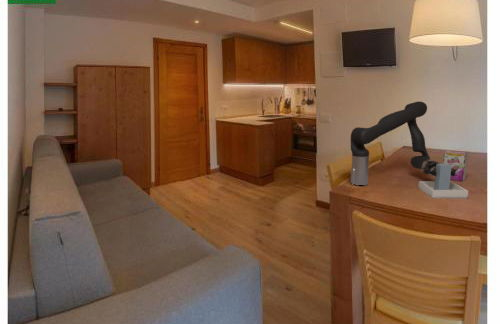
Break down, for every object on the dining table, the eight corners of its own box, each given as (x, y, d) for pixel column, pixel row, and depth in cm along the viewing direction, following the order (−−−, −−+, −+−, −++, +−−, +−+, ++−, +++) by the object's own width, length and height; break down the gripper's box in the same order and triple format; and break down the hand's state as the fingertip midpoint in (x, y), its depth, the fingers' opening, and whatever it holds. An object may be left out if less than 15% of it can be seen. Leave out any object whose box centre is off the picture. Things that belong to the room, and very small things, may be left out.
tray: (432, 198, 154) (432, 190, 153) (418, 188, 172) (419, 181, 171) (467, 198, 152) (468, 190, 151) (450, 188, 169) (450, 181, 168)
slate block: (438, 192, 159) (440, 165, 157) (434, 189, 164) (436, 163, 161) (448, 192, 159) (451, 165, 156) (444, 189, 163) (446, 163, 161)
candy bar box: (441, 178, 188) (443, 152, 185) (444, 177, 192) (446, 150, 188) (462, 181, 180) (465, 154, 177) (465, 180, 183) (468, 152, 180)
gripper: (418, 160, 174) (430, 167, 158) (446, 160, 171) (461, 167, 156) (417, 173, 175) (429, 181, 159) (444, 173, 173) (459, 181, 157)
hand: (444, 174), depth 158 cm, fingers open, 8 cm apart
